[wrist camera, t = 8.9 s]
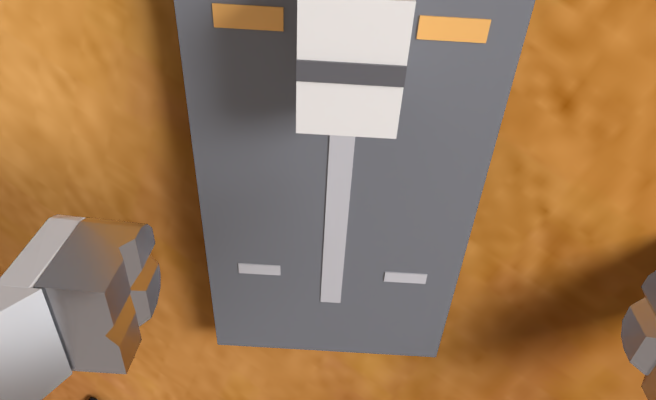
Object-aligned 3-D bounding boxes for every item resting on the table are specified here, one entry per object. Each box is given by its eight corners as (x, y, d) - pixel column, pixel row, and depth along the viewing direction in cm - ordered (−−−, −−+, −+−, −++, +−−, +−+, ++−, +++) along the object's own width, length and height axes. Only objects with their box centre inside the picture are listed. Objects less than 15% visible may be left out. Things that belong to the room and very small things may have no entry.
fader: (388, 82, 19) (396, 140, 16) (305, 77, 19) (295, 134, 16) (403, -37, 16) (416, 2, 13) (307, -43, 16) (297, -5, 13)
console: (431, 328, 30) (436, 358, 29) (224, 316, 30) (217, 345, 29) (585, -275, 15) (615, -284, 13) (157, -300, 15) (132, -313, 13)
